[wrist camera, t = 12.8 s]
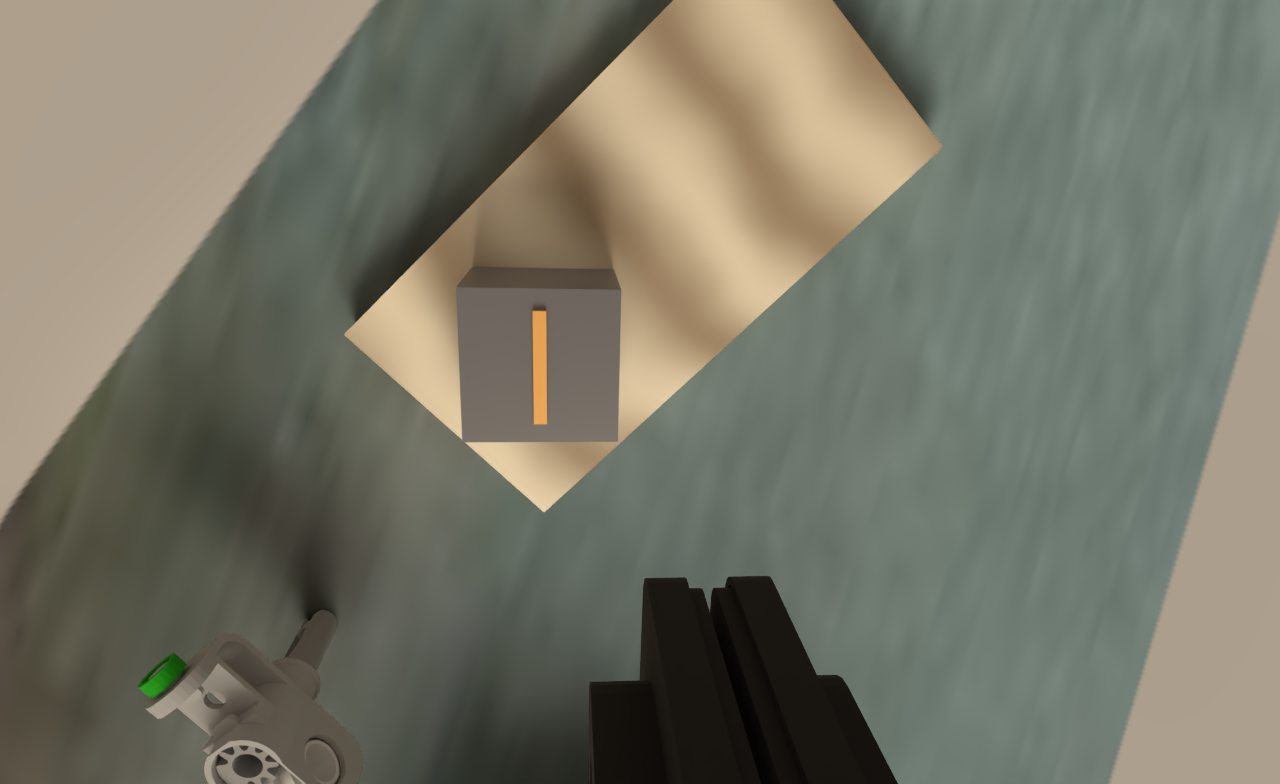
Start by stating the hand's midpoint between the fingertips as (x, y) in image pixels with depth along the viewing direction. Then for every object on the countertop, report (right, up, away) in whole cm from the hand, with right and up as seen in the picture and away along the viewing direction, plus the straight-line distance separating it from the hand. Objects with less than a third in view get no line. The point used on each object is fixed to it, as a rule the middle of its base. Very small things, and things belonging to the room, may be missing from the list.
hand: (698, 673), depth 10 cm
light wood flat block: (-1, +11, +25) cm, 27 cm away
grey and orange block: (-5, +6, +24) cm, 25 cm away
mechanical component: (-17, -8, +30) cm, 35 cm away
